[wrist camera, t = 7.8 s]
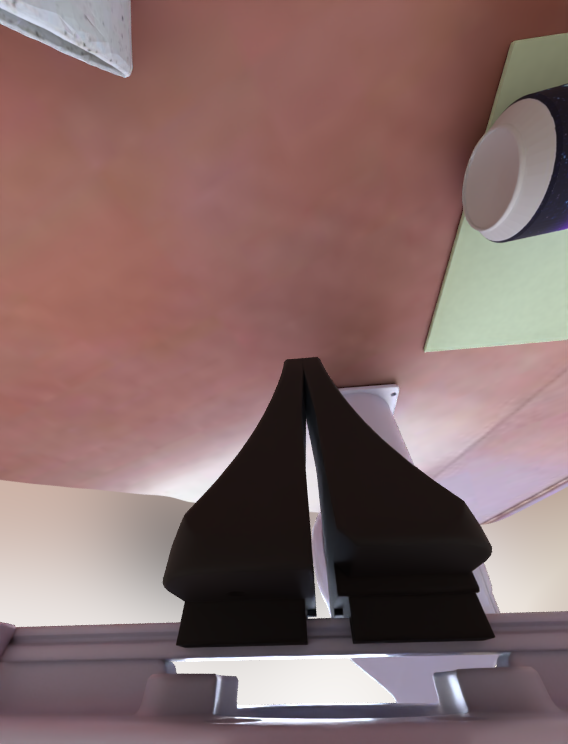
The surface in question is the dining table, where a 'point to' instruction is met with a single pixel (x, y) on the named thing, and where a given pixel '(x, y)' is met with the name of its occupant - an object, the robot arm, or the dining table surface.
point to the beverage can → (521, 170)
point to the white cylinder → (77, 29)
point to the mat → (508, 244)
